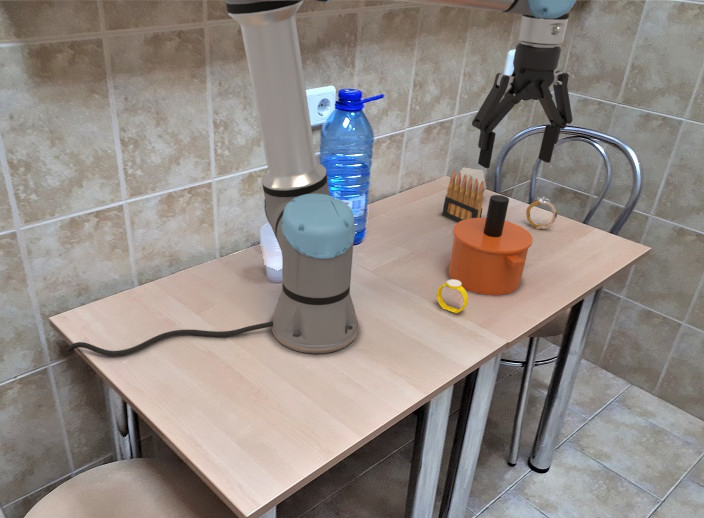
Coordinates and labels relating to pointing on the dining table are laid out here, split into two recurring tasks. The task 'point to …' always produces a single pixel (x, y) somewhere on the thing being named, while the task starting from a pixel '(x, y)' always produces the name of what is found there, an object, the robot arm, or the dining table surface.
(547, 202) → the ring
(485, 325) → the dining table surface
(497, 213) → the lid
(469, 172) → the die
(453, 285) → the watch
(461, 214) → the ammunition clip
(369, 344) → the dining table surface
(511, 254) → the pot
